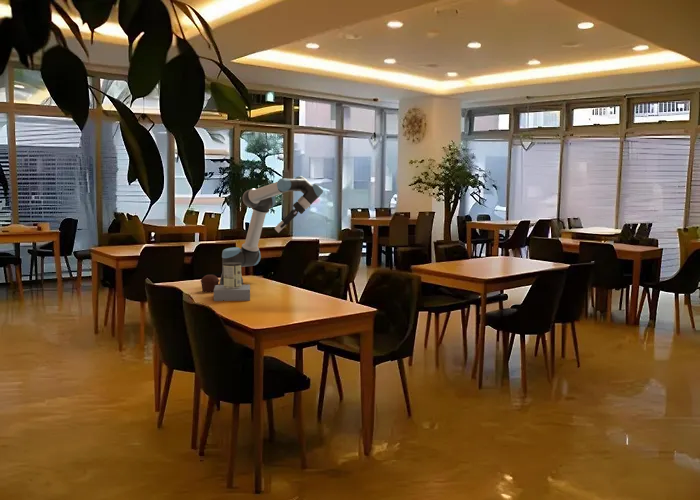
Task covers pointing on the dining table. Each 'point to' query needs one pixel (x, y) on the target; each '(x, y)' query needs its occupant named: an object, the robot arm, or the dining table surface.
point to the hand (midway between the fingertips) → (276, 230)
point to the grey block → (231, 293)
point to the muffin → (209, 283)
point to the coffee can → (232, 275)
